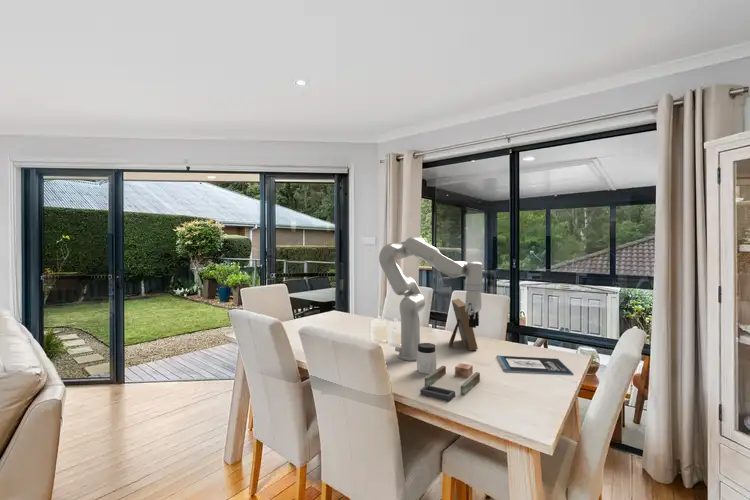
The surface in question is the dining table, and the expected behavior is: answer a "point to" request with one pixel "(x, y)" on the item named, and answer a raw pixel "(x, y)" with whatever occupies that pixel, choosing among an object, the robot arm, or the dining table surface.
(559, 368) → the sketchbook
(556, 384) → the dining table surface
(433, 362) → the jar
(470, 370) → the terracotta block
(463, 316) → the photo frame
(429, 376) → the walled channel
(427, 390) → the tray
